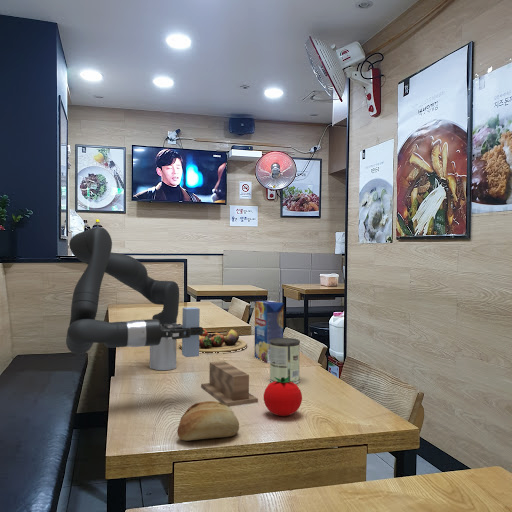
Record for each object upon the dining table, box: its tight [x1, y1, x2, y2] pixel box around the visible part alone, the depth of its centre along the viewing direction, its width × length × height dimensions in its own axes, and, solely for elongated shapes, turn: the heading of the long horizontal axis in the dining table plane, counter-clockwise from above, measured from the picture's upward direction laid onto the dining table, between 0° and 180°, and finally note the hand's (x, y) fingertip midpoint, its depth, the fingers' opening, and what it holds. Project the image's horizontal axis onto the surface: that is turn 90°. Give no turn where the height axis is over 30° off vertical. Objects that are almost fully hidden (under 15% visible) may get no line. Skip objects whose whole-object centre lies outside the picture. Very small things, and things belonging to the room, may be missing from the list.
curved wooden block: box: [200, 360, 259, 407], centre depth 145 cm, size 22×10×8 cm, turn 26°
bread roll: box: [176, 400, 240, 442], centre depth 110 cm, size 10×15×8 cm, turn 115°
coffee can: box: [269, 337, 301, 385], centre depth 161 cm, size 10×10×14 cm
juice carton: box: [254, 300, 284, 364], centre depth 195 cm, size 12×8×24 cm, turn 25°
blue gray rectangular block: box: [181, 306, 201, 358], centre depth 139 cm, size 4×4×14 cm
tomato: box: [263, 377, 303, 417], centre depth 126 cm, size 10×10×10 cm
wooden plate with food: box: [178, 327, 248, 353], centre depth 221 cm, size 32×32×8 cm
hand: (199, 329), depth 140 cm, fingers closed on blue gray rectangular block, 4 cm apart
